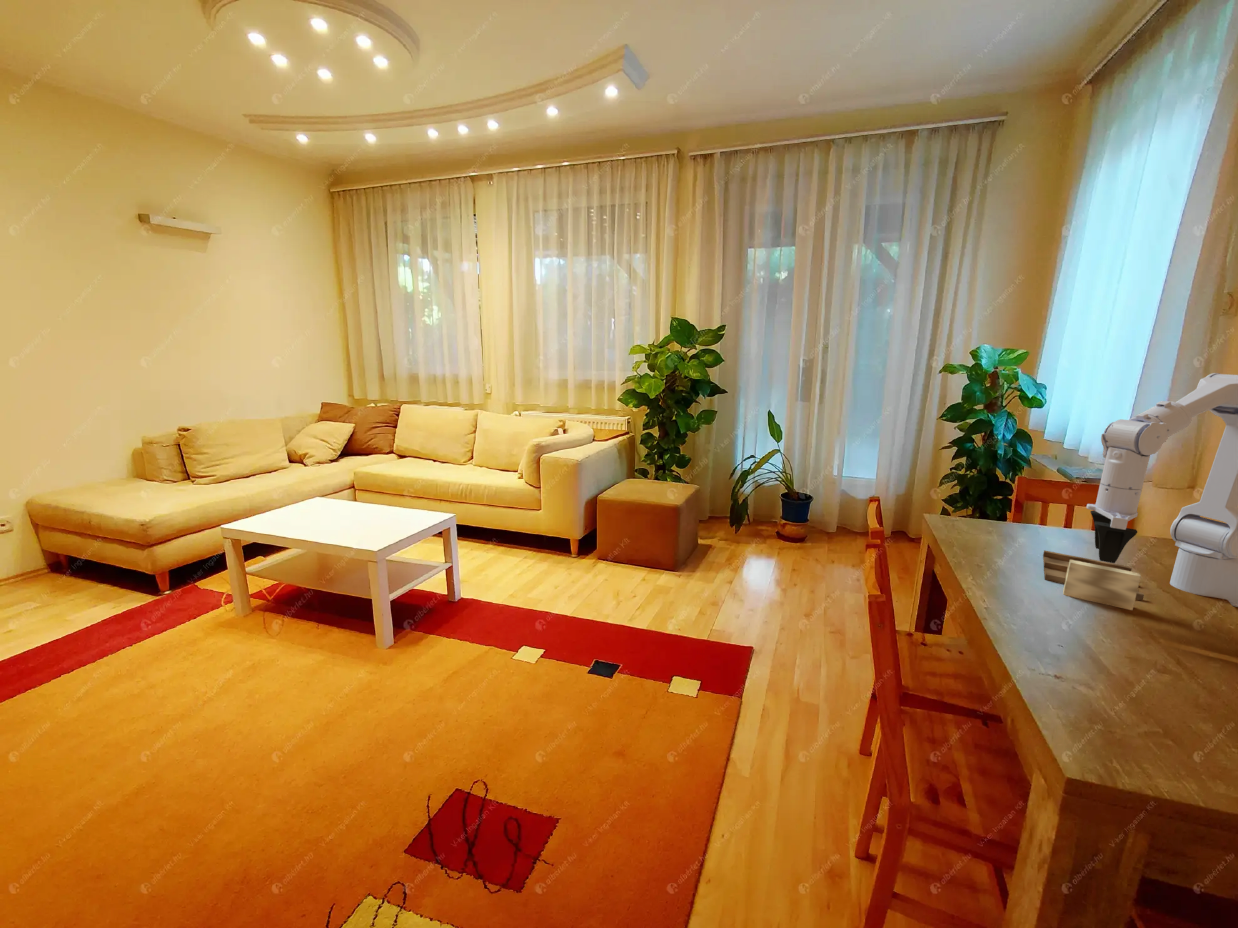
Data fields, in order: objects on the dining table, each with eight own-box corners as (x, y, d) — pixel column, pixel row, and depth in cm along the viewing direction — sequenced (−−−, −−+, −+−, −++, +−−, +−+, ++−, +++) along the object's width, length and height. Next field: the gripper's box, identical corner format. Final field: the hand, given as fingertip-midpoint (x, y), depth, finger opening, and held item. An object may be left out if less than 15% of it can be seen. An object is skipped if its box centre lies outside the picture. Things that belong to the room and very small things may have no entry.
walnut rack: (1129, 575, 117) (1131, 566, 117) (1141, 604, 104) (1144, 594, 103) (1042, 558, 126) (1044, 550, 125) (1043, 582, 113) (1045, 574, 112)
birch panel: (1130, 607, 101) (1139, 572, 100) (1132, 611, 100) (1140, 576, 98) (1062, 592, 107) (1069, 559, 106) (1063, 595, 106) (1070, 562, 104)
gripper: (1088, 475, 107) (1074, 539, 110) (1095, 490, 95) (1079, 561, 98) (1137, 480, 103) (1121, 547, 106) (1150, 497, 91) (1132, 571, 94)
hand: (1104, 555), depth 102 cm, fingers open, 7 cm apart
